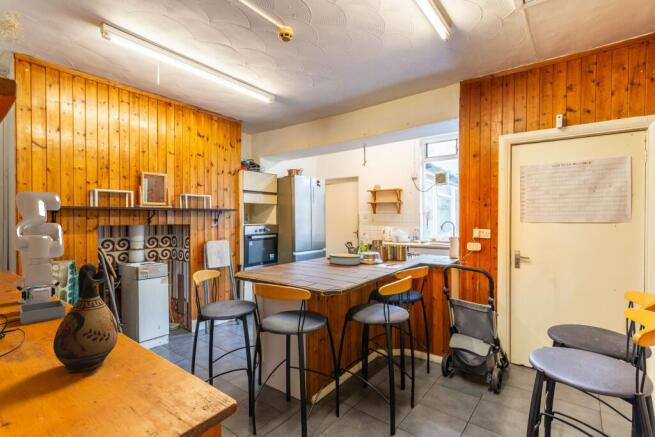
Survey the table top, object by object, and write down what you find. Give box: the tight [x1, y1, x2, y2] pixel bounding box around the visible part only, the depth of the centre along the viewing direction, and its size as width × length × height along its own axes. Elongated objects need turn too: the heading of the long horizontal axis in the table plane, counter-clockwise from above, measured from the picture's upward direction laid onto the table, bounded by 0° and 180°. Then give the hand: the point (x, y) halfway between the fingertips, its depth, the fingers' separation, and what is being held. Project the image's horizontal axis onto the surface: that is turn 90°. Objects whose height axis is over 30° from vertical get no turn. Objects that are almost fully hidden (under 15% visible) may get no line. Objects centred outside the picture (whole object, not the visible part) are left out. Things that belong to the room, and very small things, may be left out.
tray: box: [18, 299, 66, 326], centre depth 140 cm, size 15×14×5 cm
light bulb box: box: [24, 285, 52, 305], centre depth 151 cm, size 11×7×11 cm, turn 60°
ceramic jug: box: [52, 262, 119, 374], centre depth 95 cm, size 17×15×30 cm
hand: (38, 298), depth 150 cm, fingers open, 9 cm apart
